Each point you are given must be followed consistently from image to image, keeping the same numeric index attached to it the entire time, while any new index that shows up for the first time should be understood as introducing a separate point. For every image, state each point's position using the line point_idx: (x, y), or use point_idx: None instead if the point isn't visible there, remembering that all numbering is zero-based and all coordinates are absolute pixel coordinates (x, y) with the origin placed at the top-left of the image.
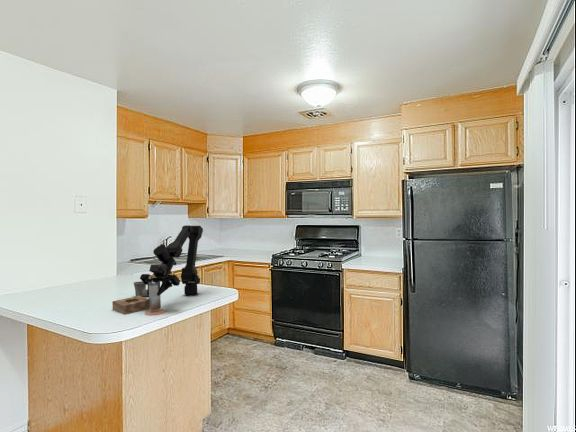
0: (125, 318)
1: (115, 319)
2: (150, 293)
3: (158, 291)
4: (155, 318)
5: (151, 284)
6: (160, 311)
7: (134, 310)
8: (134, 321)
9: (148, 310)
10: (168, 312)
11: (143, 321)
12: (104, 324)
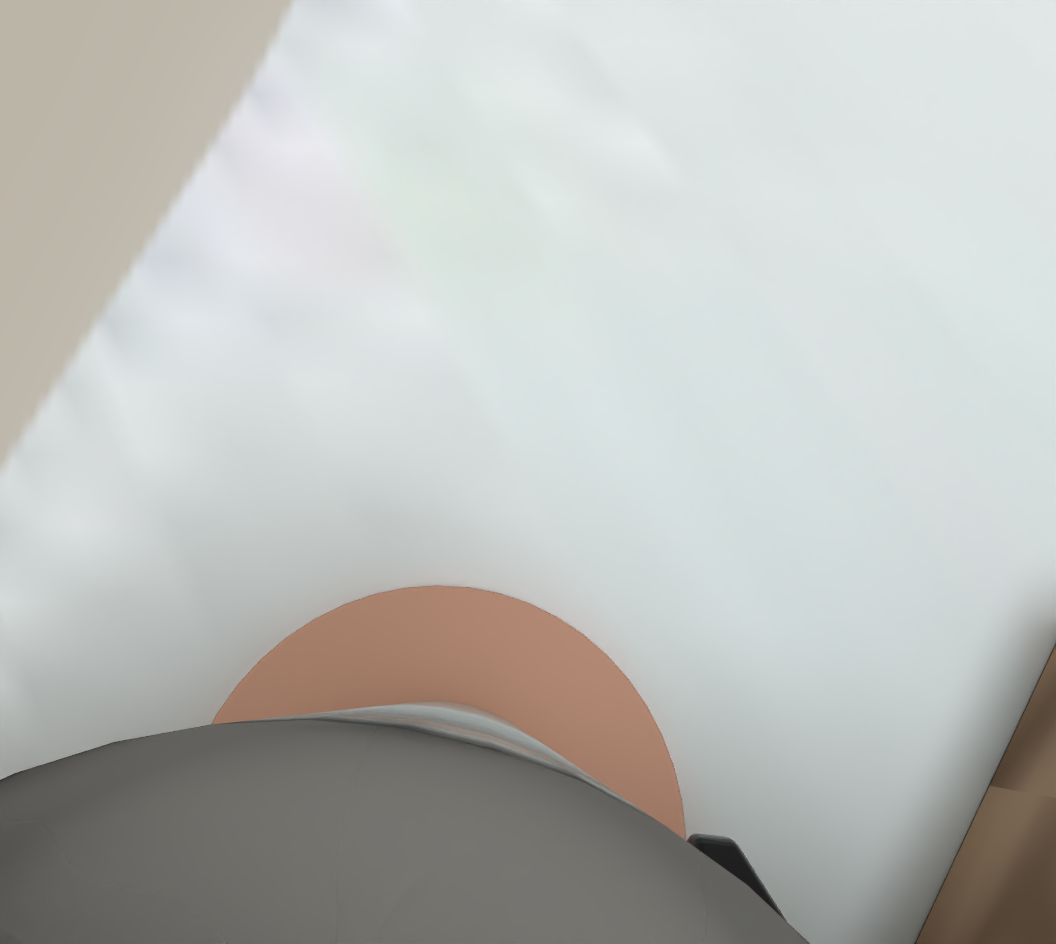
0: (863, 352)
1: (1022, 289)
2: (489, 721)
3: None
4: (204, 367)
5: (343, 717)
6: None
7: (996, 825)
8: (558, 184)
9: None
10: None
11: (374, 186)
12: (1011, 33)
